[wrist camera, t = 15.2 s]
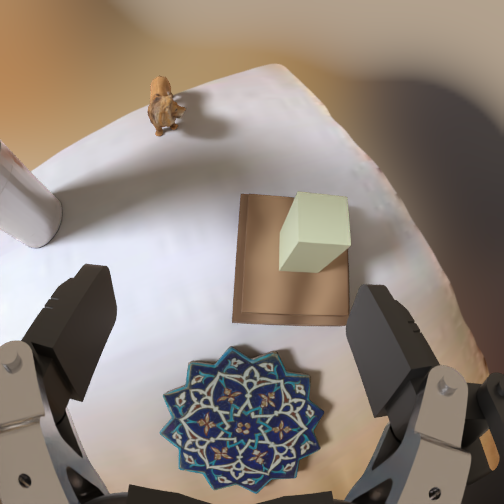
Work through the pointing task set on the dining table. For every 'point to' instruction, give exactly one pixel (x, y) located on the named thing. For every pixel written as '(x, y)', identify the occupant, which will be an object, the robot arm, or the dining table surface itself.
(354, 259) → the dining table surface
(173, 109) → the lion figurine
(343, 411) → the dining table surface
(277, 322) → the walnut plinth
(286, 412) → the decorative tile
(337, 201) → the sage block
